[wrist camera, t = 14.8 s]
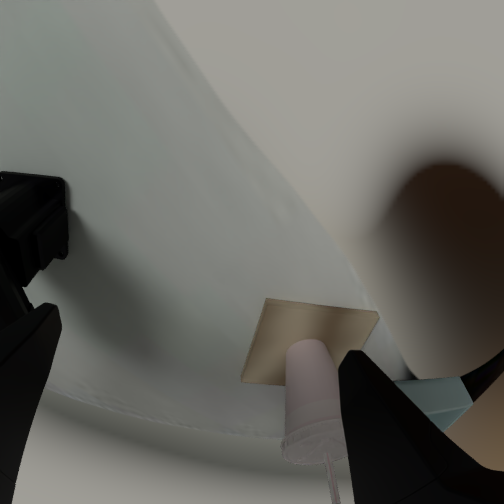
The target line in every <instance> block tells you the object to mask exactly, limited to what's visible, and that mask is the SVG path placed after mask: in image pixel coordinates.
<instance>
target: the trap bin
mask: <svg viewBox="0 0 504 504" xmlns="http://www.w3.org/2000/svg"><path fill="white" fill-rule="evenodd" d="M394 383H395V384H396V385H397V386H398V387H399V388H400V389H401V390H402V391H403V392H404V393H405V394H406V395H407V396H408V397H409V398H410V400H411V401H412V402H413V403H414V404H415V405H416V406H417V407H418V408H419V409H420V410H421V411H422V412H423V413H424V414H425V415H426V416H427V417H428V418H429V419H430V421H432V422H433V423H434V424H435V425H436V426H437V427H438V428H439V429H440V430H441V431H442V432H444V431H445V430H447V429H448V427H450V426H451V425H452V424H453V423H454V422H455V421H456V420H457V419H458V418H460V416H462V415H463V414H464V413H465V412H466V411H467V410H468V409H469V408H470V407H471V406H472V405H473V402H472V400H471V398H470V396H469V394H468V392H467V390H466V388H465V386H464V384H463V383H462V381H461V379H460V377H459V376H458V377H448V378H437V379H424V380H405V381H394Z"/></svg>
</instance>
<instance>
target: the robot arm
mask: <svg viewBox="0 0 504 504" xmlns="http://www.w3.org/2000/svg"><path fill="white" fill-rule="evenodd" d="M1 177H2V178H3V180H2V179H1ZM56 182H57V183H58V184H59V187H58V186H57V185H56ZM68 240H69V235H68V217H67V209H66V207H65V182H64V180H63V179H62V178H60V177H55V176H46V175H37V174H27V173H17V172H7V171H1V172H0V504H12V499H13V494H14V490H15V485H16V484H15V483H16V480H17V475H18V471H19V467H20V463H21V459H22V455H23V451H24V448H25V445H26V441H27V438H28V435H29V431H30V428H31V425H32V422H33V418H34V415H35V412H36V409H37V406H38V403H39V400H40V398H41V395H42V392H43V389H44V387H45V384H46V381H47V379H48V376H49V373H50V370H51V366H52V362H53V359H54V355H55V351H56V348H57V344H58V341H59V338H60V334H61V331H62V323H61V319H60V314H59V309H58V307H57V305H55V304H51V303H43V304H42V305H40V306H38V307H37V308H35V309H34V307H33V305H32V303H30V302H29V300H28V298H27V296H26V294H25V292H24V290H23V288H22V287H27V286H28V284H29V283H30V282H31V280H32V279H33V278H34V276H35V275H36V274H37V273H38V271H39V270H42V271H43V270H44V269H45V268H46V267H47V266H48V265H49V263H50V262H51V261H52V260H53V258H56V259H61V260H63V259H65V258H66V257H67V255H68V243H67V241H68ZM60 251H61V252H63V254H62V253H61V252H60ZM338 381H339V395H340V409H341V417H342V423H343V429H344V435H345V441H346V447H347V454H348V460H349V466H350V473H351V480H352V487H353V494H354V502H355V504H504V472H503V471H496V470H490V469H488V468H485V467H483V466H481V465H480V464H479V463H478V462H476V461H475V460H474V459H473V458H472V457H470V456H469V455H468V454H467V453H466V452H464V451H463V450H462V449H461V448H459V446H457V445H456V444H455V443H454V442H453V441H452V440H450V439H449V438H448V437H447V436H446V435H445V434H444V433H443V432H442V431H441V430H440V429H439V428H438V427H437V426H436V425H435V424H434V423H433V422H432V421H430V419H429V418H428V417H427V416H426V415H425V414H424V413H423V412H422V411H421V410H420V409H419V408H418V407H417V406H416V405H415V404H414V403H413V402H412V401H411V400H410V398H409V397H408V396H407V395H406V394H405V393H404V392H403V391H402V390H401V389H400V388H399V387H398V386H397V385H396V384H395V383H394V382H393V381H392V380H391V379H390V378H389V377H388V376H387V375H386V374H385V373H384V372H383V371H382V370H381V369H380V368H379V367H378V366H377V365H376V364H375V363H374V362H373V361H372V360H371V359H370V358H369V357H368V356H367V355H366V354H365V353H364V352H363V351H361V350H349V351H348V352H347V354H346V356H345V357H344V359H343V360H342V362H341V364H340V365H339V368H338Z"/></svg>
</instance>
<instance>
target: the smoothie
mask: <svg viewBox="0 0 504 504" xmlns="http://www.w3.org/2000/svg"><path fill="white" fill-rule="evenodd" d="M281 449H282V455H283V458H284V459H285V460H286V461H288V462H290V463H293V464H298V465H316V464H324V463H325V467H326V472H327V477H328V483H329V488H330V493H331V499H332V504H340V497H339V492H338V487H337V482H336V477H335V471H334V467H333V461H336V460H339V459H342V458H345V457H347V456H348V454H347V447H346V441H345V435H344V429H343V423H342V417H341V409H340V395H339V381H338V371H337V369H336V367H335V365H334V362H333V360H332V358H331V356H330V354H329V352H328V350H327V348H326V346H325V344H324V343H323V342H321V341H319V340H315V339H306V340H302V341H299V342H296V343H295V344H293V345H292V346H290V347H289V349H288V350H287V352H286V396H285V437H284V439H283V440H282V442H281Z"/></svg>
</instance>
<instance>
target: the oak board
mask: <svg viewBox="0 0 504 504" xmlns="http://www.w3.org/2000/svg"><path fill="white" fill-rule="evenodd" d="M378 319H379V316H378V314H377V312H375V311H366V310H356V309H347V308H339V307H330V306H322V305H314V304H306V303H298V302H290V301H283V300H275V299H268V298H266V300H265V303H264V307H263V310H262V313H261V316H260V319H259V322H258V325H257V328H256V331H255V334H254V338H253V341H252V344H251V347H250V350H249V353H248V356H247V359H246V362H245V365H244V368H243V371H242V374H241V382H244V383H255V384H268V385H283V386H286V352H287V350H288V349H289V347H290V346H292V345H293V344H295V343H296V342H299V341H302V340H306V339H315V340H319V341H321V342H323V343H324V344H325V346H326V348H327V350H328V352H329V354H330V356H331V358H332V360H333V362H334V365H335V367H336V369H337V371H338V368H339V365H340V364H341V362H342V360H343V359H344V357H345V356H346V354H347V352H348V351H349V350H361V348H362V346H363V345H364V343H365V341H366V340H367V338H368V336H369V335H370V333H371V331H372V330H373V328H374V326H375V325H376V323H377V321H378Z"/></svg>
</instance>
